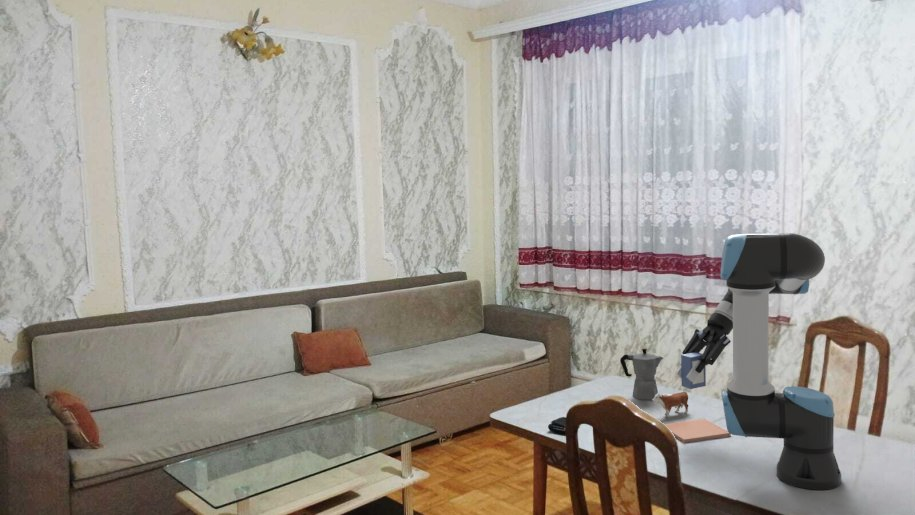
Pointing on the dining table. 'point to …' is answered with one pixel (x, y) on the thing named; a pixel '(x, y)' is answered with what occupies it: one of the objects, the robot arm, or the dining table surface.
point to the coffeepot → (643, 374)
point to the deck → (687, 365)
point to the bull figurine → (672, 401)
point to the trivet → (696, 430)
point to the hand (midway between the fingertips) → (684, 377)
